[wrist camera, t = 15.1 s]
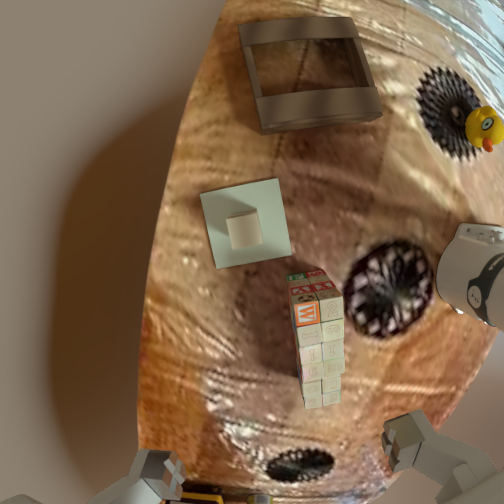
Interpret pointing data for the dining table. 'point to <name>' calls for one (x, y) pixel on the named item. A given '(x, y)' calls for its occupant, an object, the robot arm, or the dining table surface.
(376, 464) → the dining table surface
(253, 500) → the canned food
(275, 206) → the zone pad
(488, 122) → the duckling
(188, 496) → the decorative lantern
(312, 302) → the stack of blocks
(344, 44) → the access box
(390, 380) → the dining table surface
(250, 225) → the maple block
